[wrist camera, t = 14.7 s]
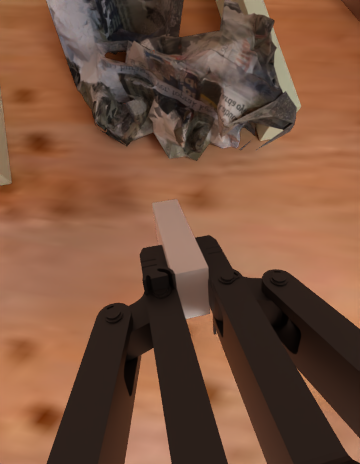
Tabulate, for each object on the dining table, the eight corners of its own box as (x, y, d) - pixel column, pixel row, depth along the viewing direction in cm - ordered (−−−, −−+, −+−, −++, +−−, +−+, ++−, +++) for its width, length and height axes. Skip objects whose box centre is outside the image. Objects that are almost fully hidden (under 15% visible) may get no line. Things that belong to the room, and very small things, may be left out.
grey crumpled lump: (186, -43, 23) (330, -46, 13) (196, 97, 31) (292, 162, 21) (36, -16, 21) (74, 8, 11) (88, 129, 28) (138, 222, 18)
